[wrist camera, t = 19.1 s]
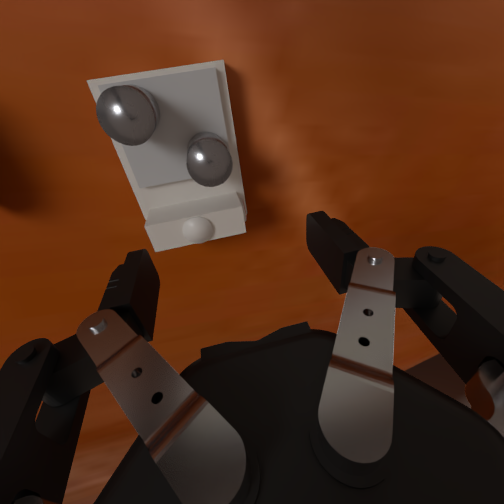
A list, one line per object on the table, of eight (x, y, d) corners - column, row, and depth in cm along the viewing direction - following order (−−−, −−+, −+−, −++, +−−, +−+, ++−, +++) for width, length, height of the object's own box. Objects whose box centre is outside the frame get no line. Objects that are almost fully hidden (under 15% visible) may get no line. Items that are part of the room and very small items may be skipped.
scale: (94, 80, 25) (65, 80, 19) (221, 61, 27) (230, 56, 21) (153, 225, 35) (146, 255, 29) (244, 207, 36) (254, 231, 31)
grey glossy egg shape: (103, 88, 23) (85, 90, 19) (151, 80, 24) (143, 81, 20) (123, 139, 26) (111, 150, 22) (166, 131, 26) (162, 140, 22)
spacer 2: (182, 134, 27) (180, 144, 23) (222, 128, 27) (228, 136, 23) (192, 175, 29) (193, 190, 25) (229, 168, 30) (235, 182, 26)
